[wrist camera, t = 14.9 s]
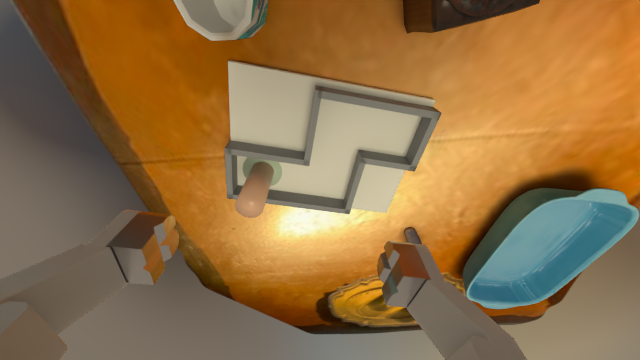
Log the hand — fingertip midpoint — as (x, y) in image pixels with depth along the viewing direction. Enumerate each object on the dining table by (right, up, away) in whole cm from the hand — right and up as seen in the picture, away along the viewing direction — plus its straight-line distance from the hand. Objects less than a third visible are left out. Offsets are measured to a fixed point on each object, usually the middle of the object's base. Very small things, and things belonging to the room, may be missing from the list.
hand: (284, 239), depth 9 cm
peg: (-9, +4, +33) cm, 34 cm away
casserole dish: (+48, -11, +46) cm, 67 cm away
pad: (-9, +4, +33) cm, 34 cm away
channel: (+2, +8, +32) cm, 33 cm away
